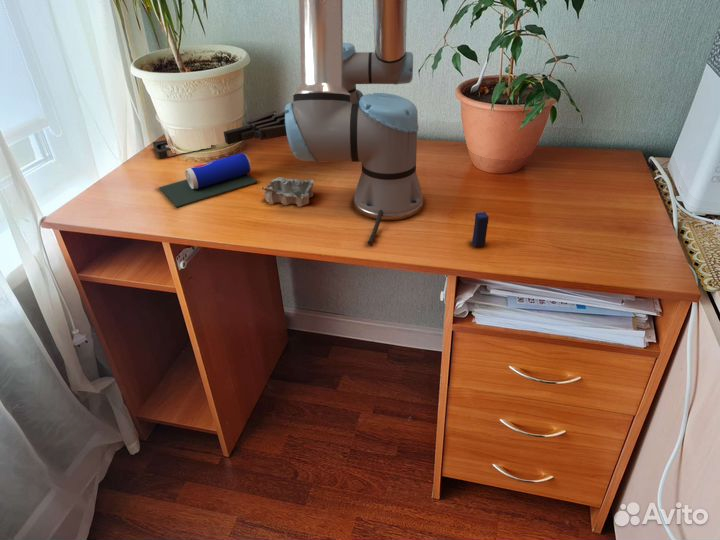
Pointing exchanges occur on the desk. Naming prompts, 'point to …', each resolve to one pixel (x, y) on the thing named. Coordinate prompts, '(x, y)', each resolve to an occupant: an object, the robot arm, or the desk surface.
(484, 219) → the eraser
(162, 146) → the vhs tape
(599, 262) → the desk surface
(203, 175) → the beverage can
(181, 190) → the mat
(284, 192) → the egg carton
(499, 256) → the desk surface
